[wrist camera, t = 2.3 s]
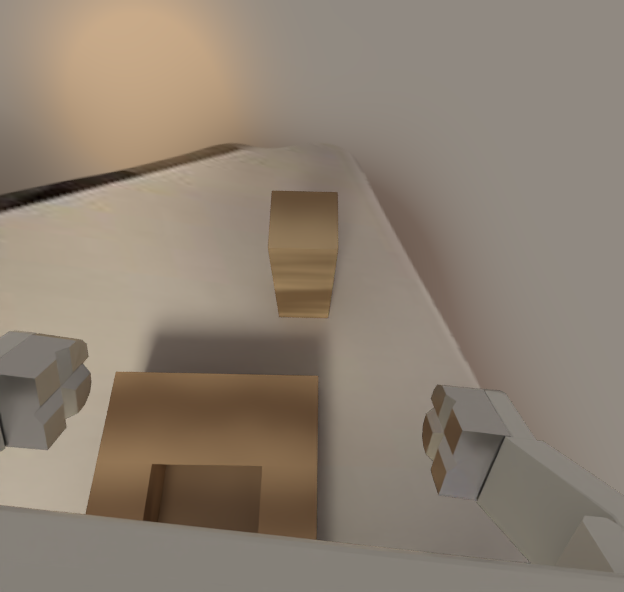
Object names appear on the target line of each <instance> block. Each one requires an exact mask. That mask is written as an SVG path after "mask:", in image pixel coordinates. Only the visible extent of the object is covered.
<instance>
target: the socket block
mask: <svg viewBox="0 0 624 592" xmlns="http://www.w3.org/2000/svg"><path fill="white" fill-rule="evenodd" d="M317 446H318V376H304V375H254V374H204V373H153V372H116V374H115V378H114V383H113V388H112V392H111V397H110V402H109V407H108V411H107V416H106V421H105V425H104V430H103V435H102V439H101V444H100V449H99V453H98V458H97V463H96V468H95V472H94V477H93V482H92V486H91V491H90V496H89V500H88V505H87V510H86V515H96V516H105V517H114V518H123V519H132V520H141V521H150V522H159V523H168V524H178V525H187V526H196V527H205V528H214V529H223V530H232V531H241V532H251V533H260V534H269V535H278V536H287V537H296V538H305V539H314V540H317Z"/></svg>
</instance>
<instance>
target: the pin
mask: <svg viewBox="0 0 624 592" xmlns="http://www.w3.org/2000/svg"><path fill="white" fill-rule="evenodd" d="M268 251H269V257H270V263H271V270H272V276H273V282H274V288H275V294H276V300H277V306H278V312H279V317H302V318H328V315H329V308H330V301H331V295H332V288H333V281H334V274H335V268H336V261H337V254H338V192H304V191H272V196H271V211H270V225H269V240H268Z"/></svg>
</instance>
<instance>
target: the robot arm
mask: <svg viewBox="0 0 624 592" xmlns="http://www.w3.org/2000/svg"><path fill="white" fill-rule="evenodd" d="M88 357H89V356H88V349H87V344H86V343H85V342H84V341H83V340H81V339H74V338H67V337H60V336H53V335H46V334H40V333H39V334H37V333H33V332H24V331H9V332H8V333H6V334H5V335H3V336H2V337H0V451H2V450H4V449H5V446H6V447H18V448H29V449H41V450H48V449H49V448H50V447H51V446H52V444H53V443H54V442H55V441H56V440H57V438H58V437H59V436H60V435H61V433H62V432H63V431H64V430H65V429H66V420H65V419H67V418H69V417H71V416H73V415H75V414H77V413H79V411H80V410H81V409H82V408H83V406H84V405H85V403H86V401H87V398H88V396H89V393H90V389H91V373H90V372H89V370H88V369H87V368H86V367H85V366H84V365H83V363H84V361H85V360H86V359H87V358H88ZM431 400H432V403H433V405H434V408H433V409H432V410H430V411H429V412H428V413H426V416H425V420H424V423H423V433H422V439H423V446H424V450H425V453H426V455H427V456H428V457H429V458H430V459H431V460H432V461H433V464H432V467H431V473H432V476H433V479H434V482H435V486H436V489H437V492H438V495H441V496H448V497H455V498H462V499H468V500H475V501H477V503H478V504H479V506H480V507H481V508H482V509H483V510H484V511H485V512H486V513H487V515H488V516H489V517H490V518H491V519H492V520H493V521H494V522H495V524H496V525H497V526H498V527H499V528H500V529H501V530H502V531H503V533H504V534H505V535H506V536H507V537H508V538H509V539H510V540H511V542H512V543H513V544H514V545H515V546H516V547H517V548H518V549H519V551H520V552H521V553H522V554H523V555H524V556H525V557H526V558H527V560H528V561H529V562H530V563H522V562H513V561H504V560H494V559H485V558H476V557H466V556H457V555H448V554H439V553H429V552H420V551H412V550H403V549H394V548H385V547H376V546H367V545H358V544H349V543H340V542H331V541H323V540H314V539H305V538H296V537H287V536H278V535H269V534H260V533H251V532H241V531H232V530H223V529H214V528H205V527H196V526H187V525H178V524H168V523H159V522H150V521H141V520H132V519H123V518H114V517H105V516H96V515H86V514H77V513H68V512H59V511H50V510H41V509H32V508H23V507H14V506H5V505H0V592H624V495H622V494H621V493H619V492H618V491H616V490H615V489H614V488H612V487H611V486H609V485H608V484H606V483H605V482H603V481H602V480H600V479H599V478H597V477H596V476H594V475H593V474H591V473H590V472H589V471H587V470H586V469H584V468H583V467H581V466H579V465H578V464H577V463H575V462H574V461H572V460H571V459H569V458H568V457H566V456H565V455H564V454H562V453H560V452H559V451H558V450H556V449H555V448H553V447H552V446H550V445H549V444H547V443H546V442H544V441H540V440H536V438H535V437H534V435H533V434H532V432H531V431H530V429H529V428H528V426H527V425H526V423H525V422H524V420H523V419H522V417H521V416H520V414H519V413H518V411H517V410H516V408H515V407H514V405H513V404H512V402H511V401H510V399H509V398H508V396H507V395H506V394H505V393H504V392H502V391H500V390H488V389H474V388H465V387H456V386H447V385H437V386H436V387H435V389H434V391H433V394H432V397H431Z"/></svg>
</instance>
